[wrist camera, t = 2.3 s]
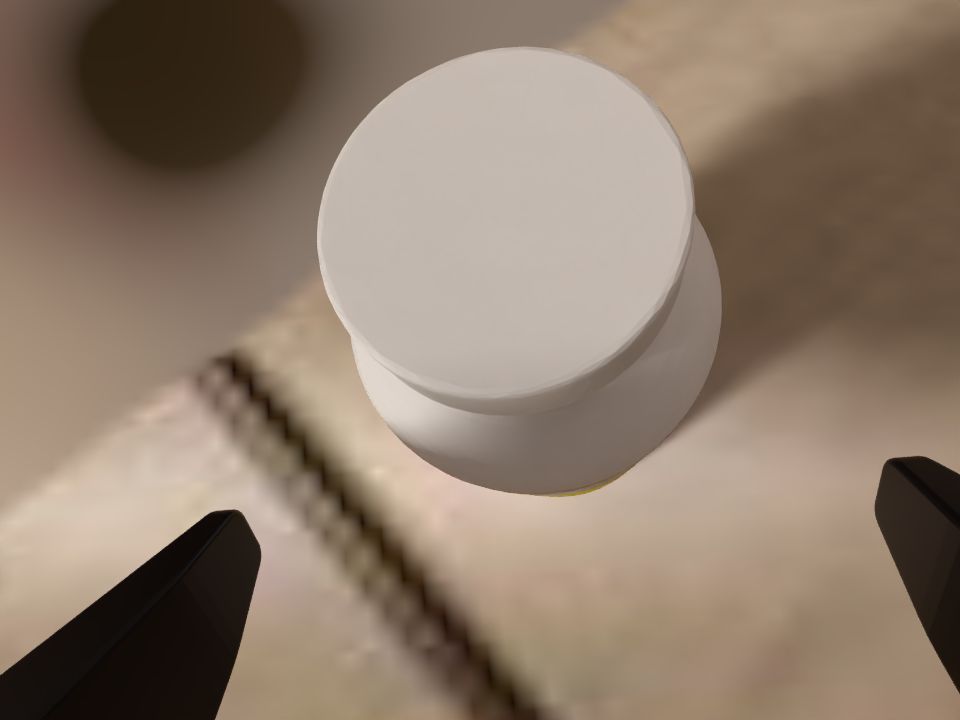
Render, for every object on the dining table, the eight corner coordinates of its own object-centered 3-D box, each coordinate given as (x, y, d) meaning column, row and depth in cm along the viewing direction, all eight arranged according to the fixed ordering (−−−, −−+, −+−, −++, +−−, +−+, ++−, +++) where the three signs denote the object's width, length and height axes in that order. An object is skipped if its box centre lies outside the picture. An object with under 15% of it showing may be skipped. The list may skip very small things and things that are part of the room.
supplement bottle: (455, 308, 21) (259, 20, 8) (648, 291, 20) (746, -72, 7) (460, 502, 19) (221, 496, 7) (670, 495, 18) (847, 472, 6)
